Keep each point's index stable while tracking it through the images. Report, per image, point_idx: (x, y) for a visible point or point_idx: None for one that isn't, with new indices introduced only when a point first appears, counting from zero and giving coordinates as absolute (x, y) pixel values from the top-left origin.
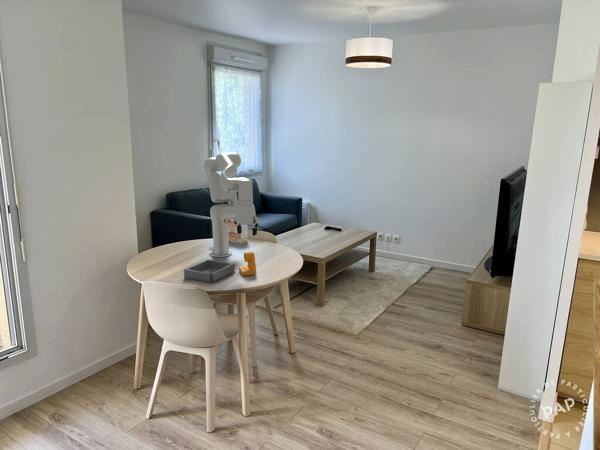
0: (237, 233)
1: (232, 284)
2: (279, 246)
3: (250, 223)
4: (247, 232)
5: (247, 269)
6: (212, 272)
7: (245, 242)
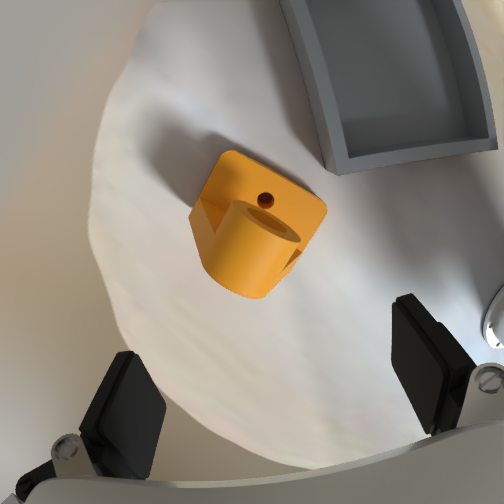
0: (410, 293)
1: (184, 39)
2: None
3: (38, 489)
4: None
5: (245, 200)
6: (394, 78)
7: None
